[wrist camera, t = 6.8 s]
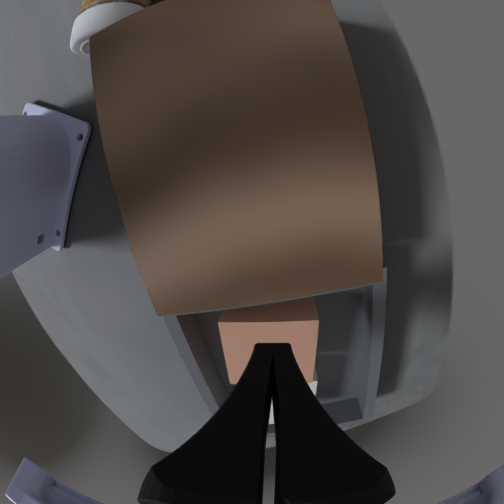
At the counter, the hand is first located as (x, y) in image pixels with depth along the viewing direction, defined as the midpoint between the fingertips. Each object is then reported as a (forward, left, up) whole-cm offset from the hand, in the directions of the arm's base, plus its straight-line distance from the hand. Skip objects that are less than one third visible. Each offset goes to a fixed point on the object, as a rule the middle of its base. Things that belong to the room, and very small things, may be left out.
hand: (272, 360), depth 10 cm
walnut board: (+7, +5, -6) cm, 11 cm away
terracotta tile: (-2, -1, -5) cm, 6 cm away
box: (-4, -4, -6) cm, 8 cm away
